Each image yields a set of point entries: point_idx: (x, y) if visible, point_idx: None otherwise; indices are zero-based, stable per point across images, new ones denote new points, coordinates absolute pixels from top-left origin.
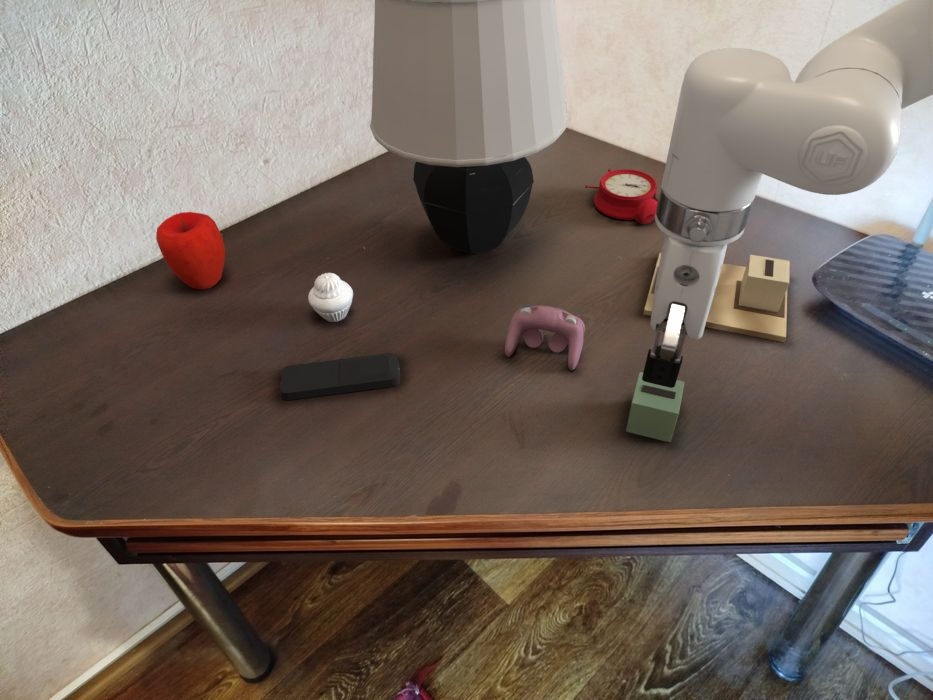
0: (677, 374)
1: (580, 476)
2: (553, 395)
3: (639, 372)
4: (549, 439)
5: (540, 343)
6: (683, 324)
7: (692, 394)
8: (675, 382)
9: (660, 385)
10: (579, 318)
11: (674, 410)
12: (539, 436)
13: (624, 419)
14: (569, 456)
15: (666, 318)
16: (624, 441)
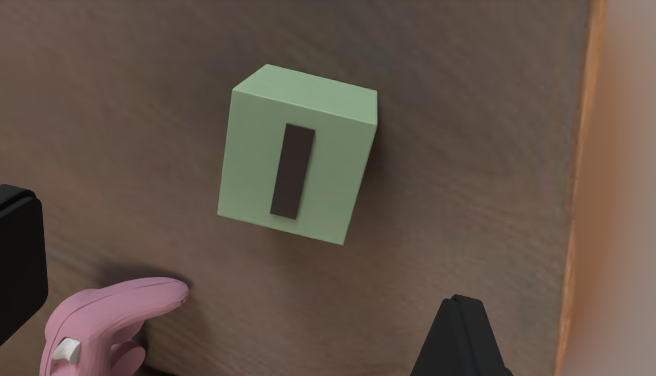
0: (500, 366)
1: (475, 281)
2: (265, 316)
3: (219, 215)
4: (382, 327)
5: (134, 347)
6: (39, 204)
7: (197, 9)
8: (489, 323)
9: (262, 164)
10: (48, 322)
11: (363, 135)
12: (375, 341)
13: None
14: (424, 297)
15: (33, 282)
16: (378, 194)
